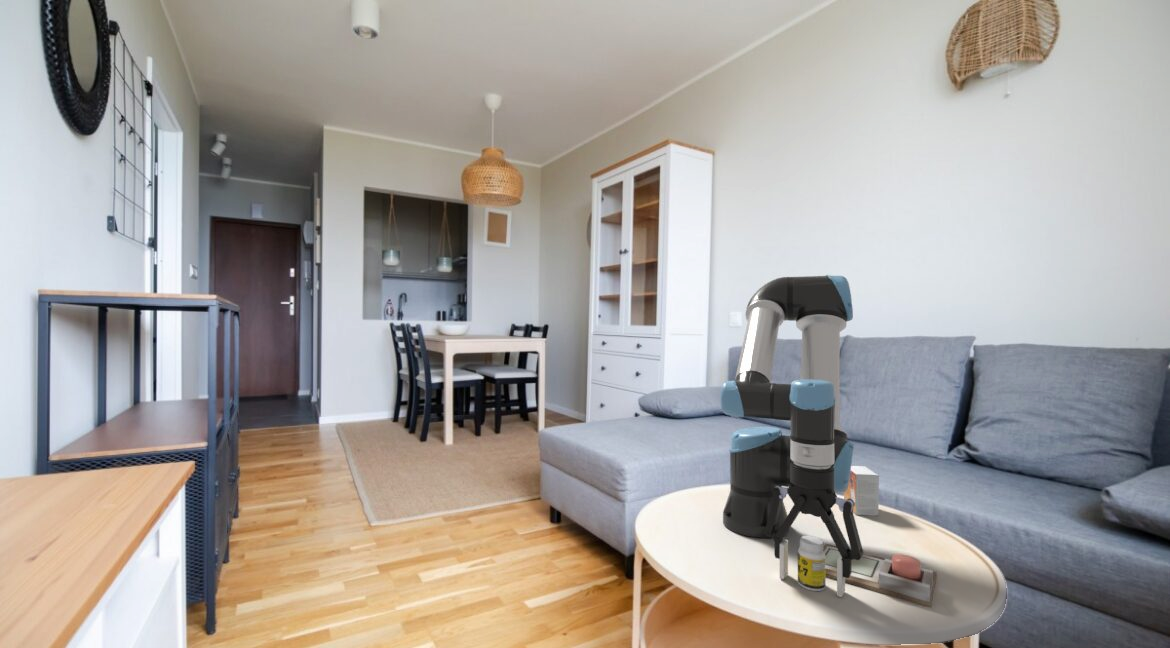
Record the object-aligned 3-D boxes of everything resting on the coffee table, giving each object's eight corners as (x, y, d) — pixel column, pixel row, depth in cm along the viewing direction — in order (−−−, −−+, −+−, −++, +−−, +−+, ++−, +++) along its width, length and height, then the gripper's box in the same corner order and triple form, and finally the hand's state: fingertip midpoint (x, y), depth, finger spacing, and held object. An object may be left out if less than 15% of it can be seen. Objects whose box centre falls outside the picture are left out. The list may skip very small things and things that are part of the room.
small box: (843, 504, 136) (843, 465, 136) (866, 505, 135) (866, 465, 135) (855, 515, 128) (855, 473, 128) (879, 516, 127) (879, 474, 127)
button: (890, 577, 92) (890, 560, 92) (893, 567, 96) (893, 552, 96) (919, 584, 89) (919, 567, 89) (921, 575, 93) (921, 558, 93)
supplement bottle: (792, 579, 96) (792, 535, 96) (816, 578, 97) (816, 534, 97) (805, 592, 92) (806, 546, 91) (830, 591, 92) (831, 545, 92)
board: (807, 571, 99) (807, 555, 99) (825, 546, 110) (825, 531, 110) (930, 607, 87) (930, 588, 87) (936, 575, 98) (936, 558, 98)
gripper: (746, 457, 98) (745, 573, 98) (876, 480, 84) (875, 614, 84) (759, 450, 104) (759, 559, 104) (883, 469, 90) (882, 595, 90)
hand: (811, 584), depth 94 cm, fingers open, 9 cm apart
